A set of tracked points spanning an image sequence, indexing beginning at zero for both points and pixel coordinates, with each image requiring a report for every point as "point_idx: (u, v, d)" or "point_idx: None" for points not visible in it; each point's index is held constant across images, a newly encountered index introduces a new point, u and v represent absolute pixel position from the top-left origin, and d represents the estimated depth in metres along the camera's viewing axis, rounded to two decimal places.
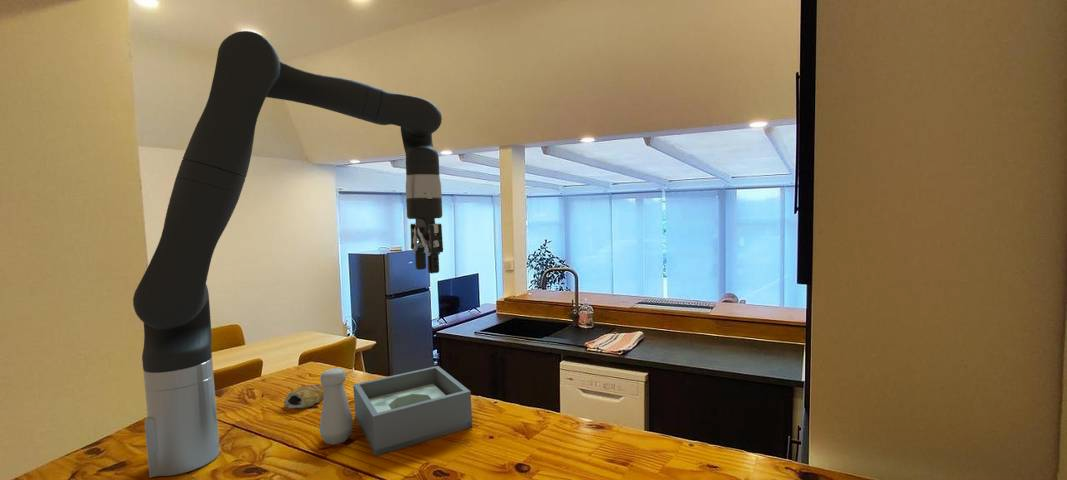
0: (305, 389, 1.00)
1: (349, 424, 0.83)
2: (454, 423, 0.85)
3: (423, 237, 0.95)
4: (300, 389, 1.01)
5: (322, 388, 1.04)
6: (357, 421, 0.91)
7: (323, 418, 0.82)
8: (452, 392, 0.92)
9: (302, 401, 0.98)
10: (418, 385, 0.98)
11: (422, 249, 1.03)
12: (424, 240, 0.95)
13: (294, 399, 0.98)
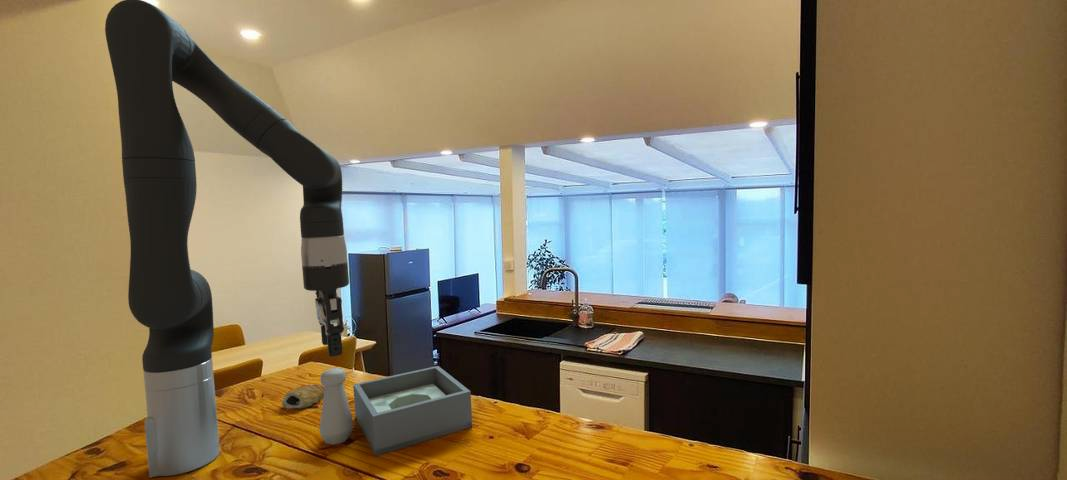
0: (303, 389, 1.00)
1: (349, 424, 0.83)
2: (454, 423, 0.85)
3: (322, 313, 0.79)
4: (298, 389, 1.00)
5: (320, 388, 1.04)
6: (357, 421, 0.91)
7: (323, 418, 0.82)
8: (452, 392, 0.92)
9: (300, 401, 0.98)
10: (418, 385, 0.98)
11: None
12: (322, 317, 0.79)
13: (293, 399, 0.98)
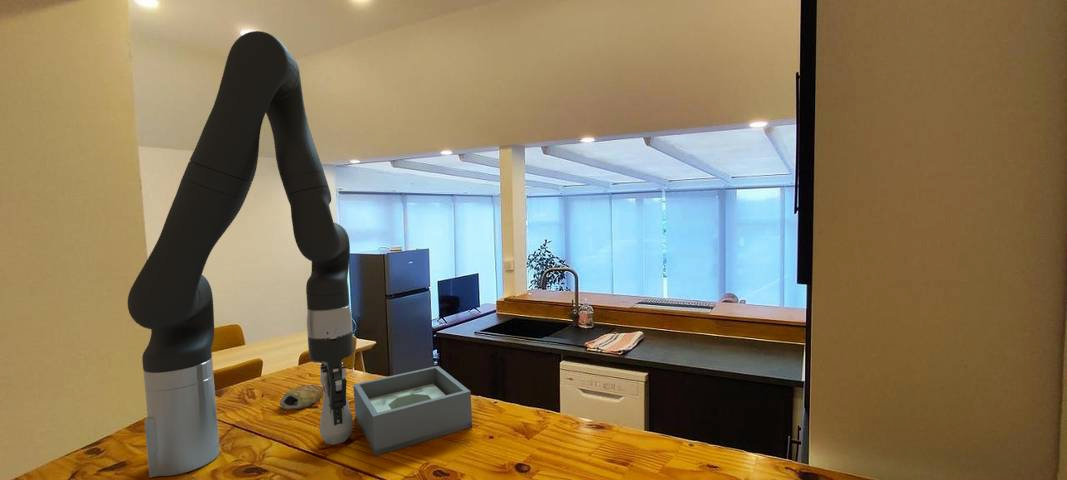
0: (301, 390, 1.00)
1: (349, 424, 0.83)
2: (454, 423, 0.85)
3: (326, 386, 0.81)
4: (296, 389, 1.00)
5: (318, 388, 1.04)
6: (357, 421, 0.91)
7: (323, 418, 0.82)
8: (452, 392, 0.92)
9: (299, 401, 0.98)
10: (418, 385, 0.98)
11: None
12: (327, 391, 0.81)
13: (291, 399, 0.98)
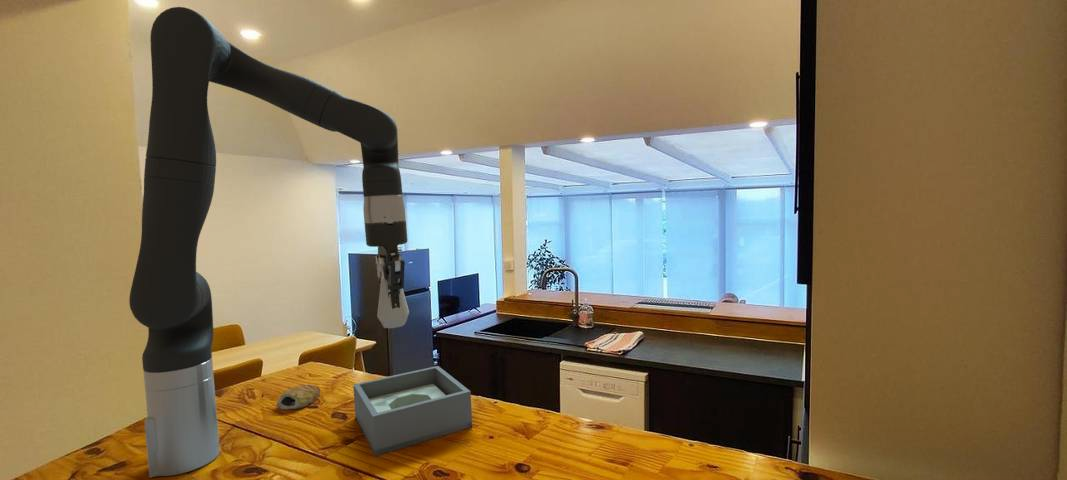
0: (298, 390, 1.00)
1: (406, 310, 0.87)
2: (454, 423, 0.85)
3: (384, 270, 0.84)
4: (293, 390, 1.00)
5: (315, 388, 1.04)
6: (357, 421, 0.91)
7: (381, 303, 0.85)
8: (452, 392, 0.92)
9: (296, 402, 0.98)
10: (418, 385, 0.98)
11: None
12: (384, 275, 0.84)
13: (288, 400, 0.98)
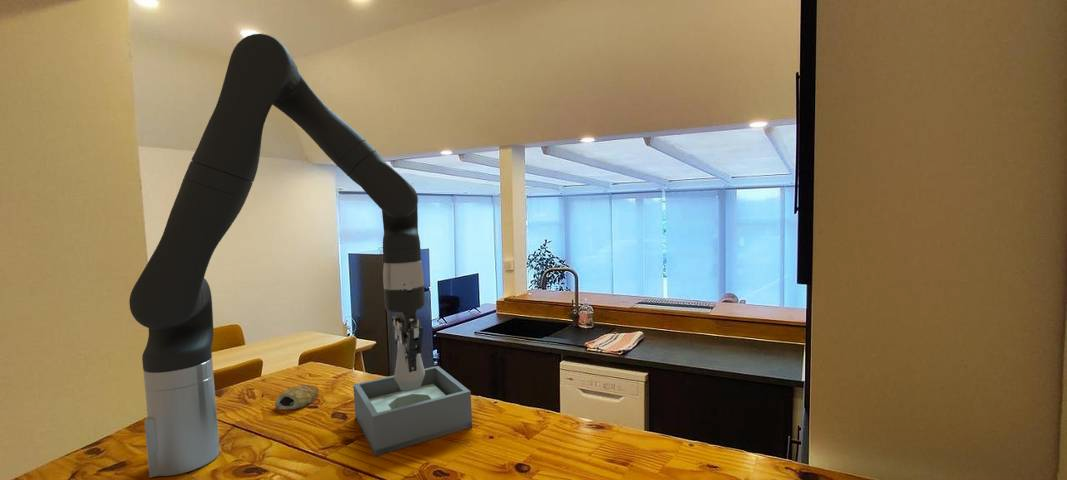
0: (297, 390, 1.00)
1: (422, 372, 0.89)
2: (454, 423, 0.85)
3: (402, 335, 0.86)
4: (291, 390, 1.00)
5: (313, 389, 1.04)
6: (357, 421, 0.91)
7: (399, 366, 0.87)
8: (452, 392, 0.92)
9: (295, 402, 0.98)
10: None
11: None
12: (402, 339, 0.86)
13: (287, 400, 0.98)
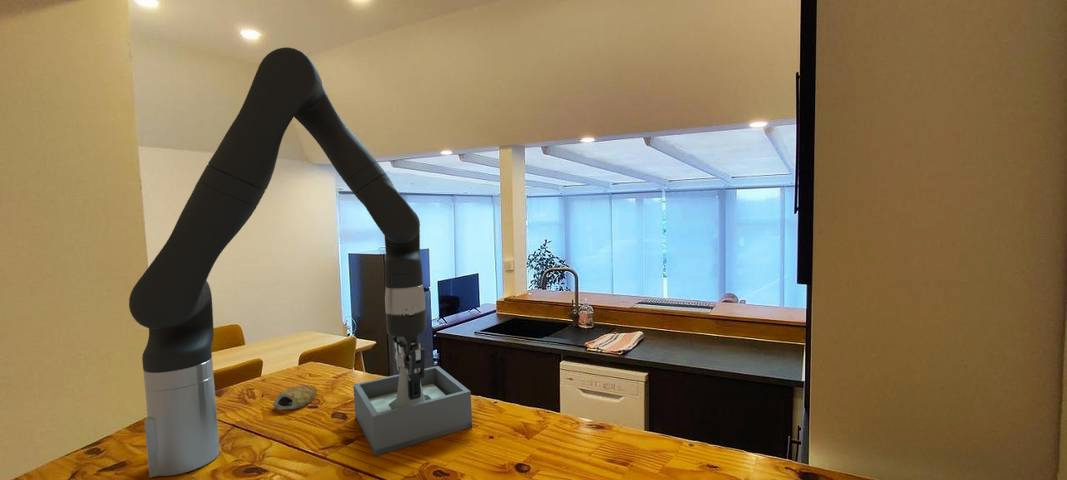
0: (295, 390, 1.00)
1: None
2: (454, 423, 0.85)
3: (404, 359, 0.86)
4: (290, 390, 1.00)
5: (311, 389, 1.04)
6: (357, 421, 0.91)
7: (399, 397, 0.87)
8: (452, 392, 0.92)
9: (293, 402, 0.98)
10: None
11: None
12: (405, 363, 0.86)
13: (285, 400, 0.98)
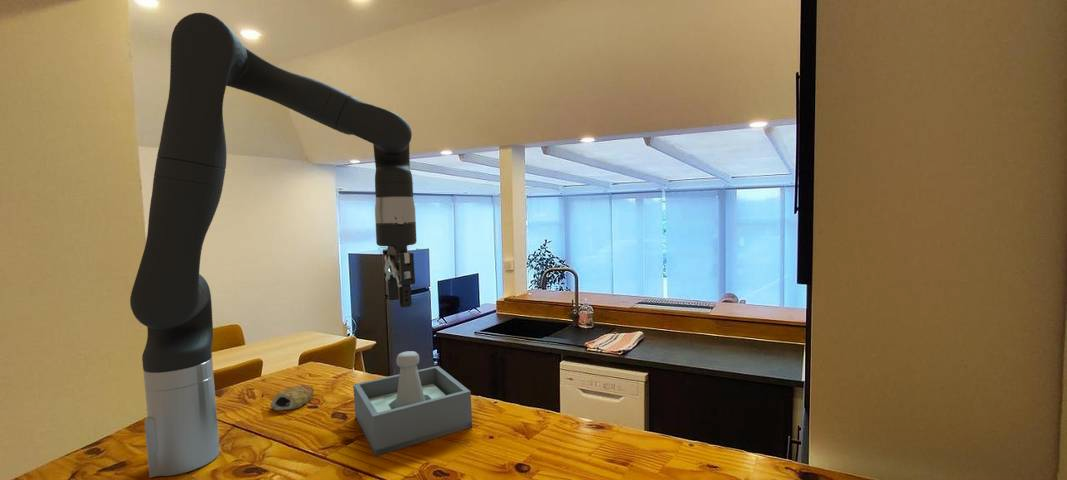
0: (292, 391, 1.00)
1: None
2: (454, 423, 0.85)
3: (394, 267, 0.85)
4: (287, 391, 1.00)
5: (309, 389, 1.04)
6: (357, 421, 0.91)
7: (399, 397, 0.87)
8: (452, 392, 0.92)
9: (291, 402, 0.97)
10: None
11: (395, 278, 0.93)
12: (395, 270, 0.85)
13: (283, 401, 0.98)
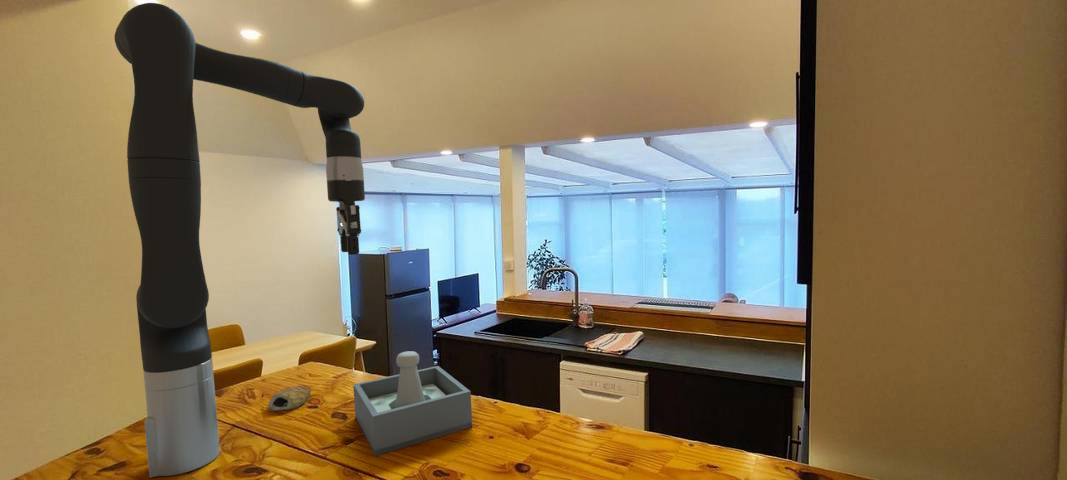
0: (290, 391, 1.00)
1: None
2: (454, 423, 0.85)
3: (343, 219, 0.96)
4: (284, 391, 1.00)
5: (306, 389, 1.03)
6: (357, 421, 0.91)
7: (399, 397, 0.87)
8: (452, 392, 0.92)
9: (289, 402, 0.97)
10: None
11: None
12: (343, 222, 0.96)
13: (280, 401, 0.98)
